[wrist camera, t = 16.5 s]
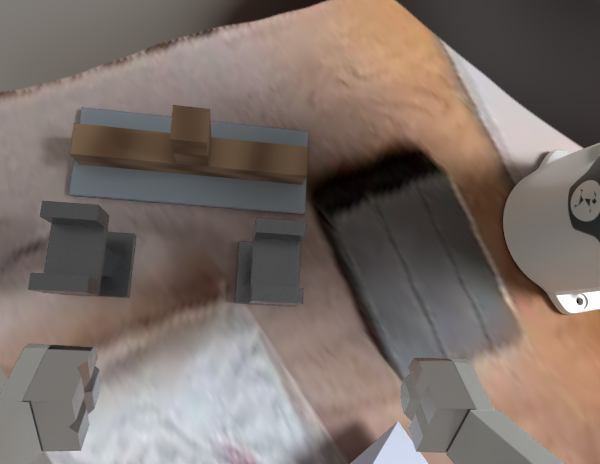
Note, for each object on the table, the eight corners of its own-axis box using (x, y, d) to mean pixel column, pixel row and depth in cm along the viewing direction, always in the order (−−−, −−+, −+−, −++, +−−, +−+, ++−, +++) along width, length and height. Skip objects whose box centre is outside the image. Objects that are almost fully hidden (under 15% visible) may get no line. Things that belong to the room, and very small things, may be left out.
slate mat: (307, 133, 51) (308, 131, 50) (304, 214, 49) (305, 213, 49) (83, 110, 48) (81, 107, 47) (70, 195, 46) (68, 194, 45)
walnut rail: (303, 157, 50) (320, 121, 41) (302, 184, 49) (319, 154, 40) (83, 135, 46) (51, 91, 38) (79, 164, 46) (45, 126, 37)
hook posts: (298, 244, 48) (318, 222, 38) (295, 309, 47) (315, 304, 37) (71, 228, 45) (27, 199, 35) (61, 297, 44) (13, 288, 34)
